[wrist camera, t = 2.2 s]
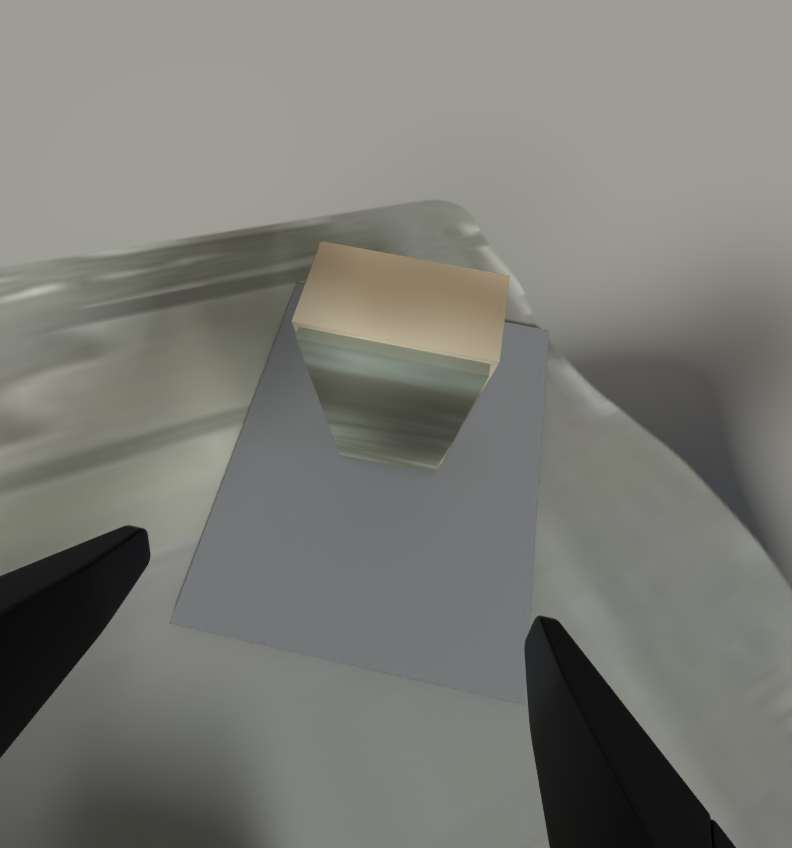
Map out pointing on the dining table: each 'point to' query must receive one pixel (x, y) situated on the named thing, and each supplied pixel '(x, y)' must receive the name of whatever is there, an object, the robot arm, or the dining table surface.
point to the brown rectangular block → (398, 350)
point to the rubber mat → (379, 534)
